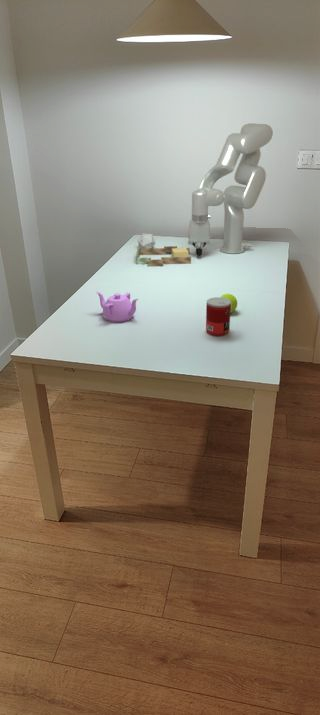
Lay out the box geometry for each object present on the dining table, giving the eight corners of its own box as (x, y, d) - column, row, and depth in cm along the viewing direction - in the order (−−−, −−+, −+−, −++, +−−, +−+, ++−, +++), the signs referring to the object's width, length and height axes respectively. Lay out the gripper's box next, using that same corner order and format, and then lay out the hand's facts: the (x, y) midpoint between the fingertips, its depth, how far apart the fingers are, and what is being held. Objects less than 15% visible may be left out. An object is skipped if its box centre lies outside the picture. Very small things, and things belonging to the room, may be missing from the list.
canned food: (228, 337, 170) (230, 306, 165) (204, 335, 172) (205, 305, 167) (230, 327, 177) (231, 297, 172) (206, 326, 178) (207, 296, 173)
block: (185, 256, 255) (185, 247, 252) (188, 260, 248) (188, 251, 246) (171, 257, 254) (171, 248, 252) (174, 261, 248) (174, 252, 246)
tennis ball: (232, 317, 185) (233, 299, 182) (214, 314, 188) (215, 296, 185) (239, 310, 191) (240, 292, 187) (222, 307, 194) (222, 290, 190)
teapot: (139, 321, 183) (138, 298, 179) (100, 325, 181) (98, 301, 177) (134, 309, 194) (133, 287, 190) (97, 312, 192) (95, 290, 187)
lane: (189, 251, 261) (189, 244, 259) (191, 265, 240) (191, 257, 239) (138, 252, 262) (138, 244, 260) (135, 266, 241) (135, 258, 239)
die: (138, 248, 271) (132, 236, 263) (150, 238, 272) (146, 226, 264) (146, 256, 267) (141, 245, 259) (159, 247, 268) (155, 235, 260)
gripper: (214, 216, 245) (213, 253, 253) (183, 216, 245) (183, 254, 254) (216, 219, 238) (214, 258, 247) (184, 219, 239) (183, 258, 247)
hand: (198, 256), depth 250 cm, fingers closed
